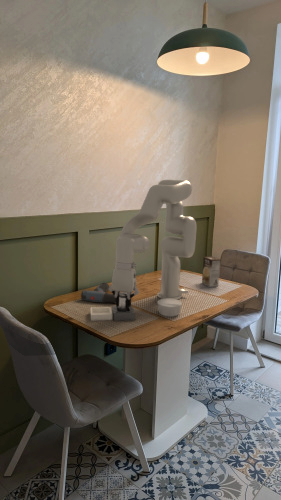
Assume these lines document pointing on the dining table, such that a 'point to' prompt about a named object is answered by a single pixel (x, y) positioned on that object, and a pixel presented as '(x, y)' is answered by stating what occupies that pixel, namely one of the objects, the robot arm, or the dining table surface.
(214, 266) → the coffee box
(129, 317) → the block
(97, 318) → the tray
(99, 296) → the power drill
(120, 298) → the shiny metal canister
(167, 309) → the ramekin
